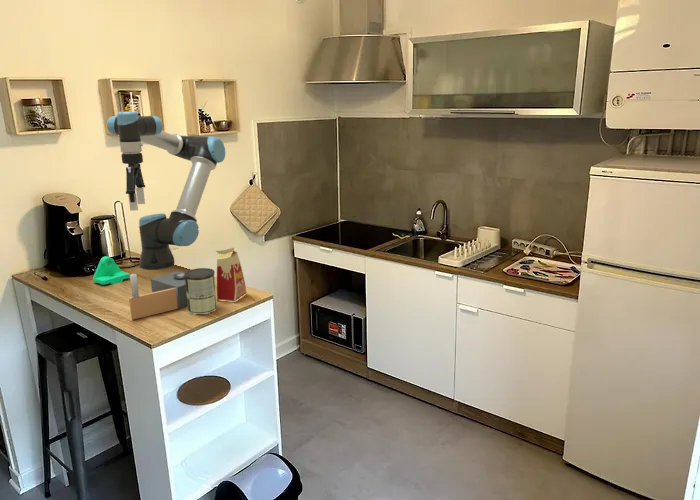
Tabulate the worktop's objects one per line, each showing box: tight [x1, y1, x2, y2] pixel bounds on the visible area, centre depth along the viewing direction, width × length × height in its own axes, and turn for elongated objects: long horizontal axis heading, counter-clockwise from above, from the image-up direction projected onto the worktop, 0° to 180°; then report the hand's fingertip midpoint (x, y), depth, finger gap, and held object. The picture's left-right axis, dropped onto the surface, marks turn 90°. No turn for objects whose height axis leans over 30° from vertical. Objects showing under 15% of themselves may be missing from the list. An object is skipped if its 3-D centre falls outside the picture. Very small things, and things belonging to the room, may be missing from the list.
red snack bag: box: [215, 247, 248, 301], centre depth 201 cm, size 9×9×20 cm
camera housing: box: [150, 270, 188, 309], centre depth 201 cm, size 12×16×9 cm
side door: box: [128, 273, 180, 320], centre depth 186 cm, size 2×17×16 cm, turn 129°
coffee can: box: [183, 267, 218, 315], centre depth 190 cm, size 10×10×14 cm
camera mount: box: [92, 255, 130, 285], centre depth 222 cm, size 12×8×10 cm, turn 143°
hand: (137, 207), depth 213 cm, fingers open, 13 cm apart
